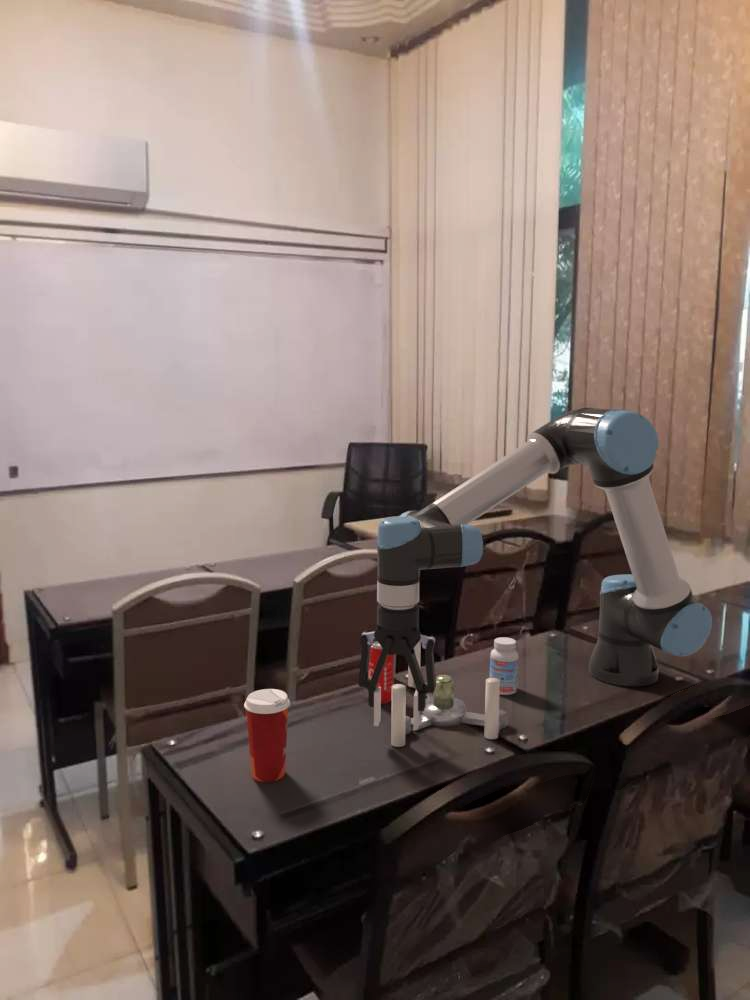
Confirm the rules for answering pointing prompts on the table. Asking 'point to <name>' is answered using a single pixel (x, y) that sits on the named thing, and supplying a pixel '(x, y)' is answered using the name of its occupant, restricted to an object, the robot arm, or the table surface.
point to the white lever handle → (417, 653)
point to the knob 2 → (493, 710)
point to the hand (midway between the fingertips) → (396, 724)
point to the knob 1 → (399, 716)
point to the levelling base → (447, 715)
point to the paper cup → (267, 733)
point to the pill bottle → (505, 664)
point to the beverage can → (386, 674)
